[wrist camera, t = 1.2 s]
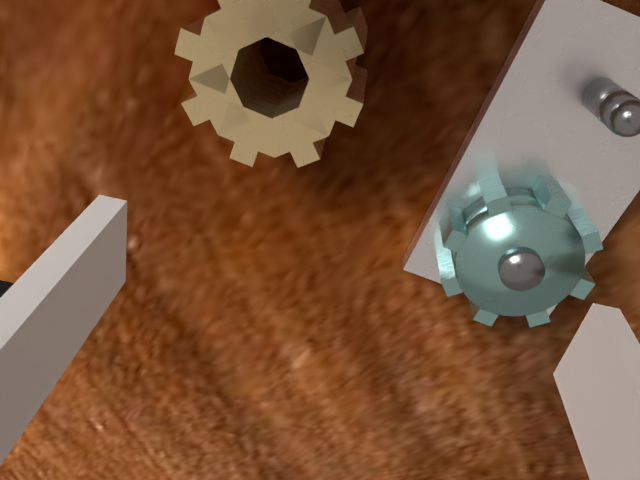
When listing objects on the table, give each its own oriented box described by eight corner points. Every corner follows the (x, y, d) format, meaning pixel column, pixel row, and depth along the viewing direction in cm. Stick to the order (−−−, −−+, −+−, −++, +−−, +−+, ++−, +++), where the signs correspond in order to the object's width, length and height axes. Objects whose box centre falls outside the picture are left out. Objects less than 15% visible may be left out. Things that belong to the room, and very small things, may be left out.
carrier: (402, 257, 38) (405, 316, 32) (548, -22, 29) (586, -9, 24) (539, 308, 39) (565, 374, 33) (719, 52, 30) (796, 81, 25)
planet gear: (186, 5, 32) (138, 25, 26) (332, -68, 29) (318, -65, 23) (257, 146, 35) (230, 193, 29) (392, 92, 33) (394, 130, 27)
